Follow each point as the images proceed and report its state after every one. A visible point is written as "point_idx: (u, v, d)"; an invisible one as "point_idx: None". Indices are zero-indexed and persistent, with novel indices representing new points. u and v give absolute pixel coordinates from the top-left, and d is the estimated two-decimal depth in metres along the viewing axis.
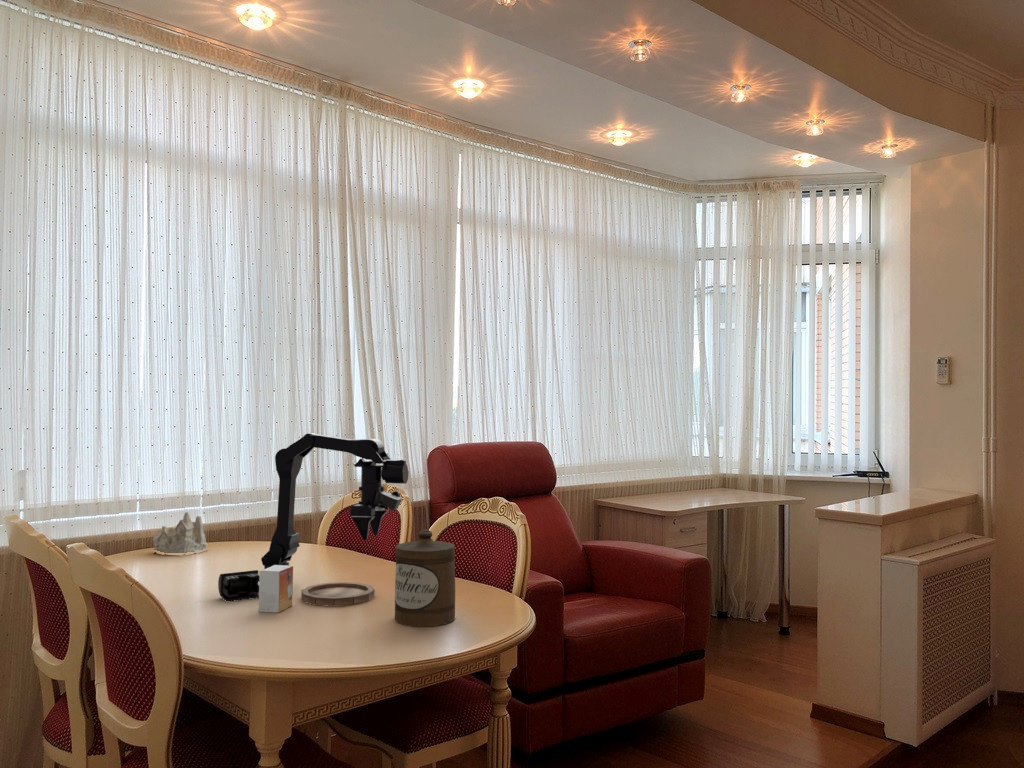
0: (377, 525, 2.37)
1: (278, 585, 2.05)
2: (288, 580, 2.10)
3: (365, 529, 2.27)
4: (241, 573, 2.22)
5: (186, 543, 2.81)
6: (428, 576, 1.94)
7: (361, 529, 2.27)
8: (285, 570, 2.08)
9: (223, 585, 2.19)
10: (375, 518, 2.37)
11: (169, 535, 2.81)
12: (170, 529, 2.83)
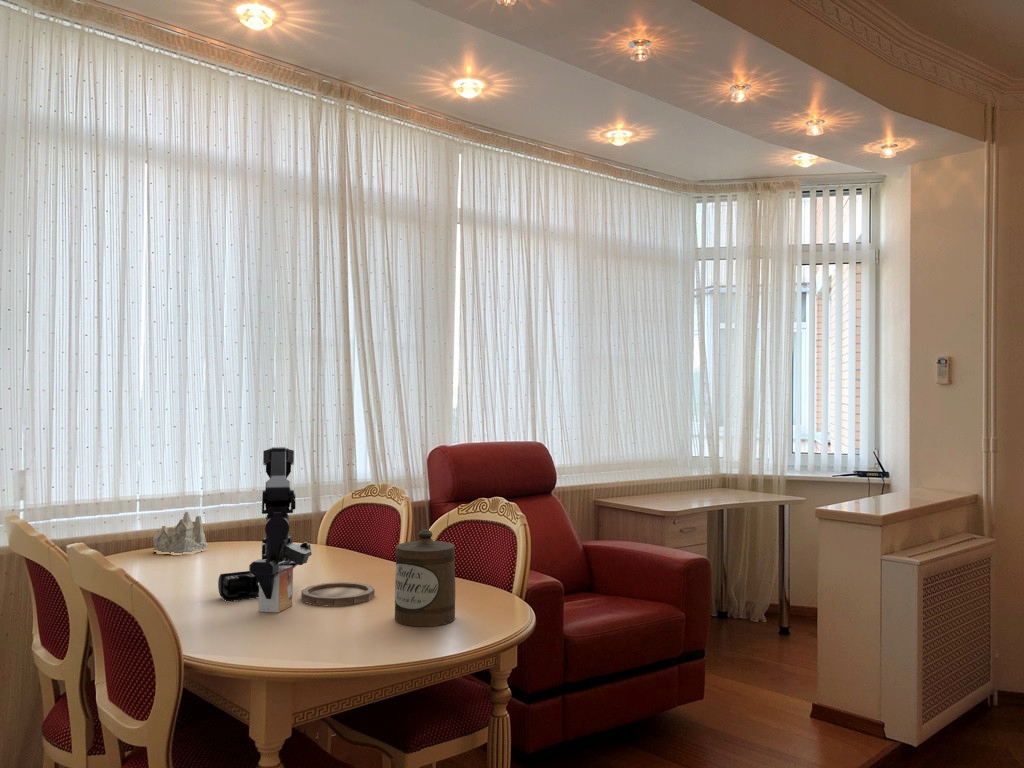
0: None
1: (278, 585, 2.05)
2: (288, 580, 2.10)
3: (268, 587, 2.04)
4: (241, 573, 2.22)
5: (186, 543, 2.81)
6: (428, 576, 1.94)
7: (264, 587, 2.04)
8: (285, 570, 2.08)
9: (223, 585, 2.19)
10: None
11: (169, 535, 2.82)
12: (170, 529, 2.83)
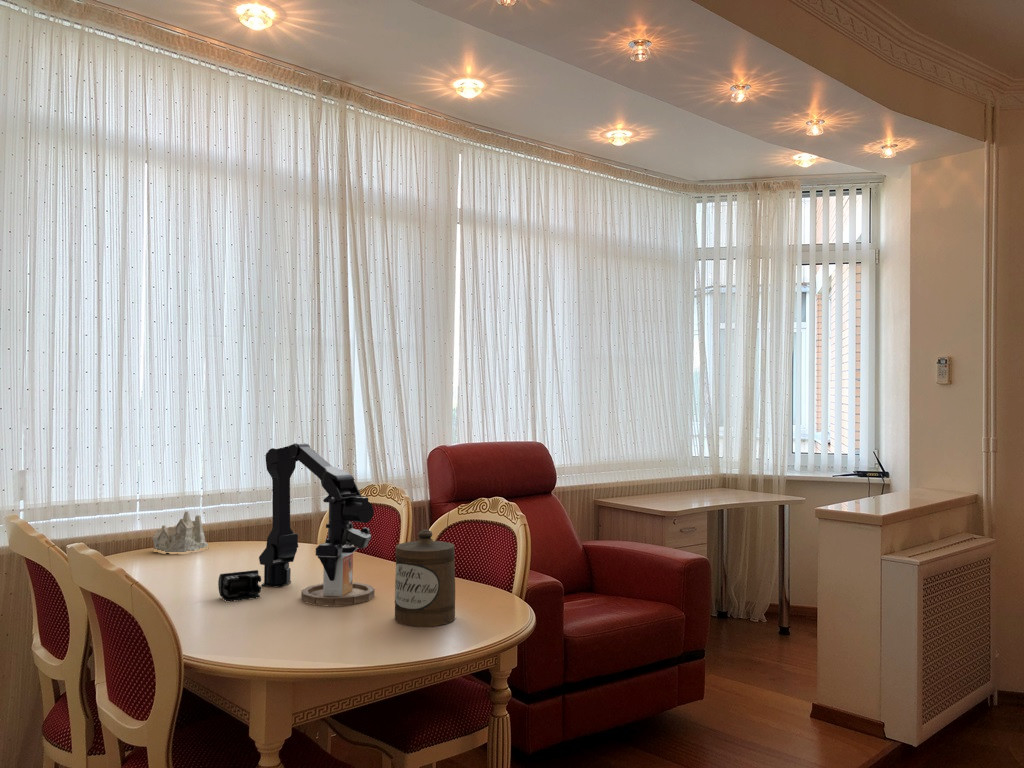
0: None
1: (342, 570, 2.18)
2: (349, 566, 2.23)
3: (332, 569, 2.17)
4: (241, 573, 2.22)
5: (186, 542, 2.83)
6: (428, 576, 1.94)
7: (328, 569, 2.17)
8: (347, 557, 2.22)
9: (223, 585, 2.19)
10: None
11: (169, 534, 2.83)
12: (170, 528, 2.85)
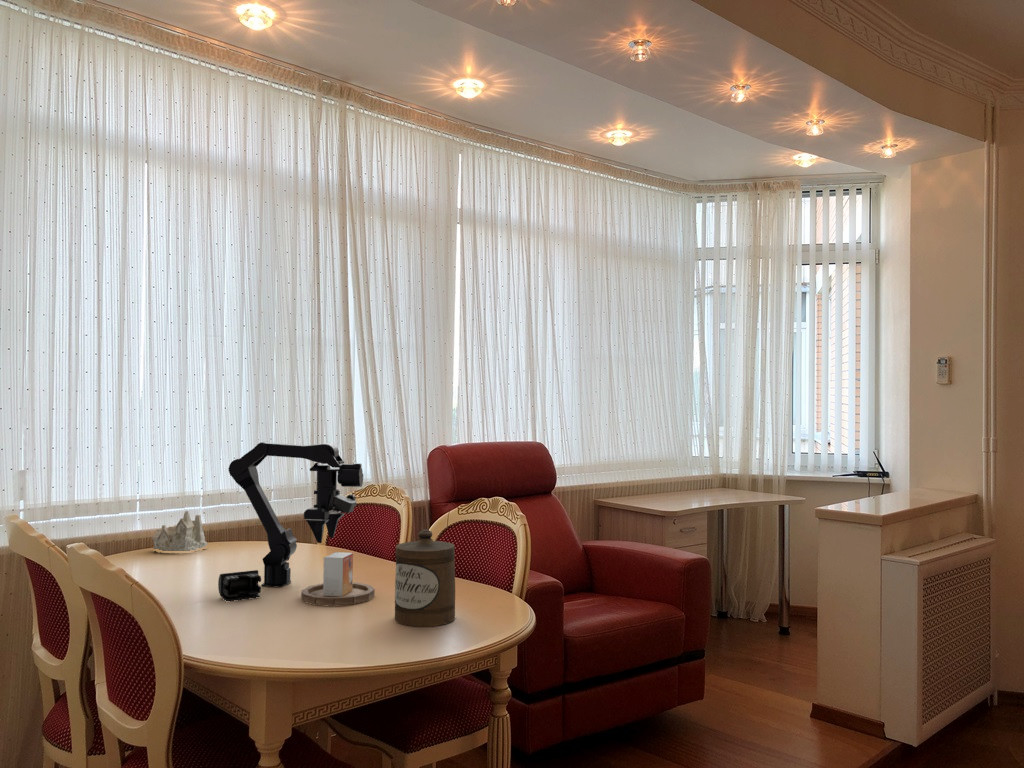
0: (333, 528, 2.41)
1: (342, 570, 2.18)
2: (349, 566, 2.23)
3: (319, 532, 2.31)
4: (241, 573, 2.22)
5: (186, 541, 2.84)
6: (428, 576, 1.94)
7: (315, 532, 2.31)
8: (347, 557, 2.22)
9: (223, 585, 2.19)
10: (331, 521, 2.42)
11: (169, 534, 2.84)
12: (170, 528, 2.85)
